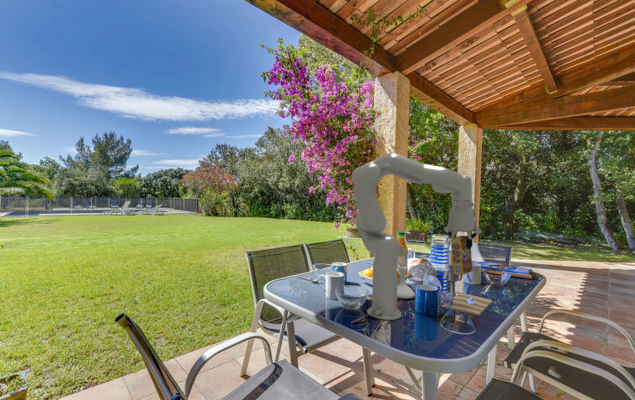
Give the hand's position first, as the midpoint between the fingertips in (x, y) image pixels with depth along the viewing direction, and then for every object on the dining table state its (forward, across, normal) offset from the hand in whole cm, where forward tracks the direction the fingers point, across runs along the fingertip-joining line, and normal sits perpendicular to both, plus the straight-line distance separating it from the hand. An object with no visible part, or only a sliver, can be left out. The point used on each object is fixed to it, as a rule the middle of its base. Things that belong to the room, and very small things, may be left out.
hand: (462, 247), depth 117 cm
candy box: (+11, 0, 0) cm, 11 cm away
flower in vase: (+26, +26, +4) cm, 37 cm away
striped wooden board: (+26, 0, -8) cm, 27 cm away
